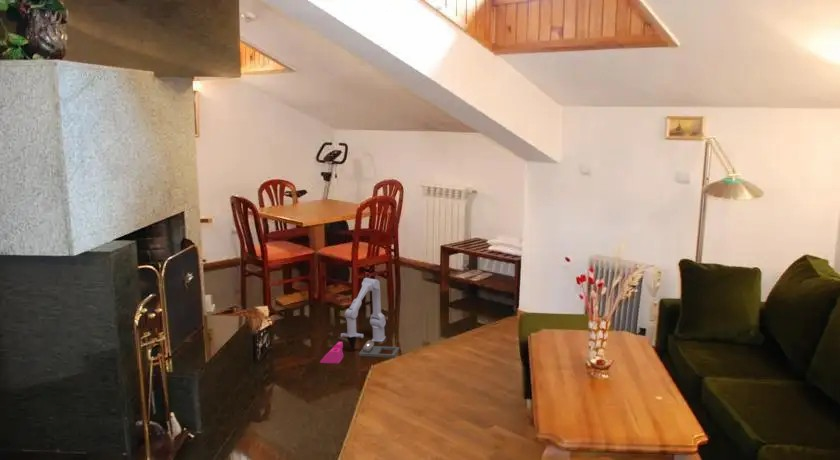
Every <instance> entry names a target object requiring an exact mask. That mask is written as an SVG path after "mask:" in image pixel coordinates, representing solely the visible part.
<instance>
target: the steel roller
mask: <svg viewBox="0 0 840 460" xmlns="http://www.w3.org/2000/svg"><path fill="white" fill-rule="evenodd" d="M373 346H375V341H372V339H369V340H367V341H366V342H365V344H364V345H363V347H362V349H363V351H364V352H370V350H371V349H372V347H373Z"/></svg>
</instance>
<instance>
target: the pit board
mask: <svg viewBox="0 0 840 460" xmlns="http://www.w3.org/2000/svg"><path fill="white" fill-rule="evenodd" d="M383 350H385V351H387V350H388V351H392V353H381V352H382V351H383ZM399 351H400V347H399V346H382V345H381V346H379V345H374V346H373V347H372V349H371V350H370V352H364V351H363V348H362V349H361V350H360V352H359V353H358V356H359V357H376V358H394V359H395V358H396V355H397V354H398V353H399Z"/></svg>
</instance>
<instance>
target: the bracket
mask: <svg viewBox="0 0 840 460" xmlns="http://www.w3.org/2000/svg"><path fill="white" fill-rule="evenodd" d="M343 348H344V343H343V341H337V342H336V344H334V346H333V347H332V348H331V349H330V350H329V351H328V352H327V353H326V354H325V355H324V356H323V357H322V359H320V361H319V363H320V364H321V363H322V364H340V363H341V361H342V360H343V358H344V353H343Z"/></svg>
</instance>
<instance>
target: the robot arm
mask: <svg viewBox="0 0 840 460" xmlns="http://www.w3.org/2000/svg"><path fill="white" fill-rule="evenodd" d="M368 292H371V297H372V298H371V299H372V314H370V319H369V324H370V326H371V328H372V339H371V340H372V341H373V342H379V343H381V342H384V340H385V339H386V338H387V336H386V335H385V334H386V333H385V326H386V323H387V322H386V321H387V320H386V318H385V315H384V314H383V312H382V303H381V300H382V299H381V297H382V296H381V285H380V280H379V279H375V278H368V277H365V278H363V280H362V281H361V288H360V290H359V292H358V295H357V297H356V298H354V299H353V300H352V302H351V304H350V305H349V308H347V309H346V310H345V311H344V317H345V320H346V326H347V327H346V329H347V331H346V332H342V333H340V337H341V338H343V337H344V338H347V341H348V343H349V345H350V348H351V349H355V344H356V340H357V338H361V339H364V337H365V336H364V333H359V332H357V317H358V315H359V310H360V308H361V306H362V304H363V303H362V301H363V299H364V297H365V296H366V294H367V293H368Z"/></svg>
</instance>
